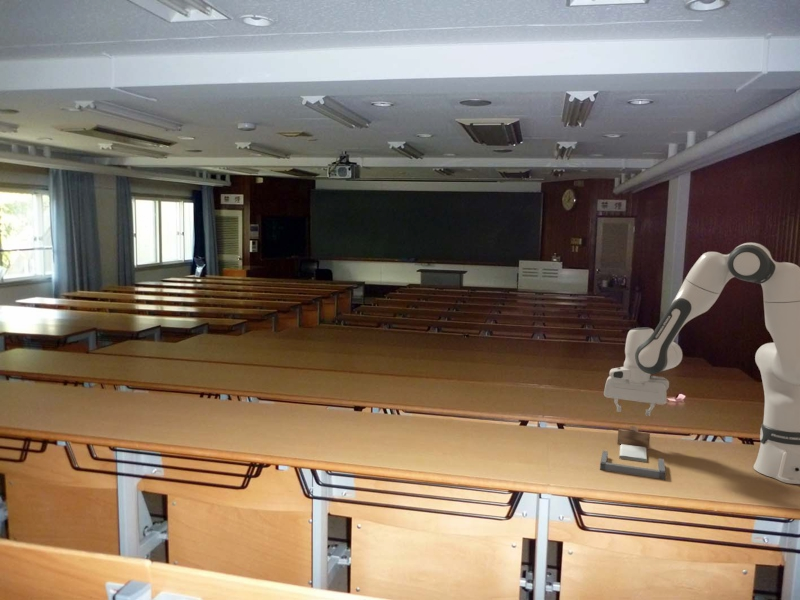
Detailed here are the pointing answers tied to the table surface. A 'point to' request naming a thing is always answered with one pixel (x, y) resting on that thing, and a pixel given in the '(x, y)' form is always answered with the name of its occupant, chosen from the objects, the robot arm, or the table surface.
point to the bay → (633, 468)
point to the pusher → (633, 437)
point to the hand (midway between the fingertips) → (633, 413)
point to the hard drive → (633, 453)
